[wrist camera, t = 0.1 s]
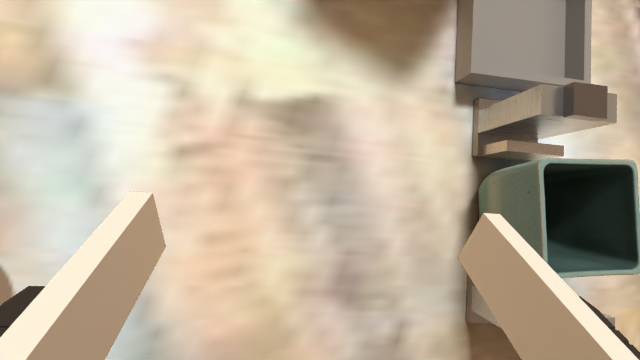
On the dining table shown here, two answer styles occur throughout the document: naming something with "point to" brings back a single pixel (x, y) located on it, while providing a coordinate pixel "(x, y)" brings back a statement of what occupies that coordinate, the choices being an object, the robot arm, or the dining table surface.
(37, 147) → the dining table surface
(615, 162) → the flower pot
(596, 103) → the holder
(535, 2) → the tray
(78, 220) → the dining table surface
